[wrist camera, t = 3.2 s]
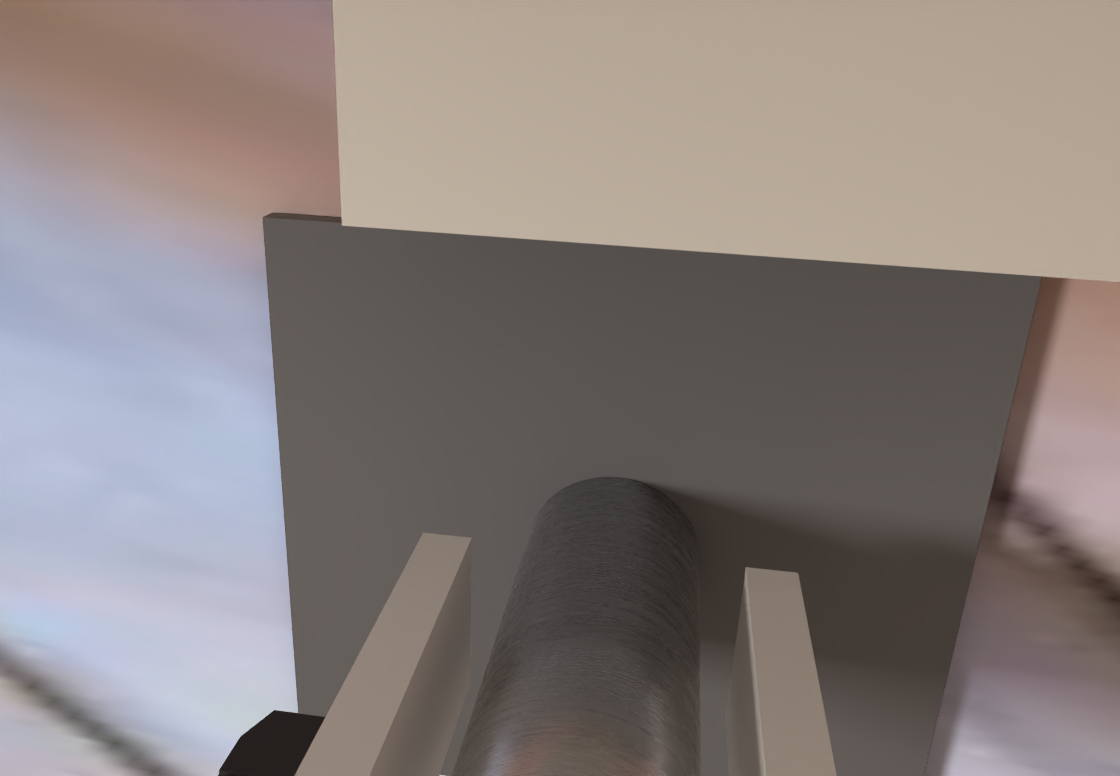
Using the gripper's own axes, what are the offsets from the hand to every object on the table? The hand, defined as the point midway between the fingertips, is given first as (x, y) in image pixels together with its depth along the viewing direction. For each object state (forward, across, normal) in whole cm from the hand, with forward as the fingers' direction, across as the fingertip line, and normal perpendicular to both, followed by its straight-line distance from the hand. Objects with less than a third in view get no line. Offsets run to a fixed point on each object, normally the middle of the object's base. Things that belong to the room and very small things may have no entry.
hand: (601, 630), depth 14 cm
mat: (+3, 0, 0) cm, 3 cm away
